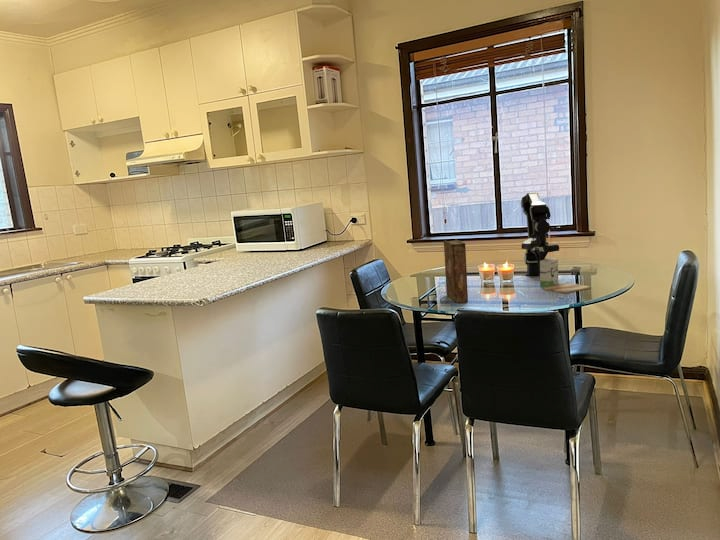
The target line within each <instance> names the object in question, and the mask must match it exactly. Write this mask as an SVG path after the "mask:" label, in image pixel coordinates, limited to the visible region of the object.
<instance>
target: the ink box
mask: <svg viewBox="0 0 720 540" xmlns="http://www.w3.org/2000/svg"><path fill="white" fill-rule="evenodd" d="M539 283H540V285H539V286H540V287H548V286H553V285H558V284H559V258H550V257H548V258H545V259H544V260H541V261H540V276H539Z"/></svg>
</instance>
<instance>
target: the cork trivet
mask: <svg viewBox="0 0 720 540" xmlns="http://www.w3.org/2000/svg"><path fill="white" fill-rule="evenodd" d="M591 288H592V286H590V285H583V284H578V283H573V282H564V283H558V284H556V285H553V286H548V287H544V286H542V290H546V291H549V292H555V293H560V294H563V295H565V294H571V293H575V292H579V291H585V290H588V289H591Z"/></svg>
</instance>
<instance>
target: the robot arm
mask: <svg viewBox="0 0 720 540" xmlns="http://www.w3.org/2000/svg"><path fill="white" fill-rule="evenodd" d="M520 207H521V208H522V212H523V214H524V215H525V216H526V227H527V239H526V240H524V241H523V242H522V244H521V250H525V253H524V257H523V258H524V259H523V261H524V262H523V263H524V264H525V265H526V269H527V270H526V271H527V273H525V274H524V276H526V277H532V278H536V277H540V261H541V260H544V259H546V257H547V255H548V253H552V252H553V253H555V252H559V251H560V245H559V244H558V243H557V244H556V243H550V244H549V242H547V237H549V232H550V231H551V225H550V223H549V222H548V221H547V220H550V218H551V215H552V214H551V211H550V207H549V206H548V205H547V204H546V203H545V202H543V201H541V199H540V195H539V192H536V191H531V192H526V195H524V196H523V197H522V198H521V200H520Z"/></svg>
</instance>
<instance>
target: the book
mask: <svg viewBox="0 0 720 540" xmlns="http://www.w3.org/2000/svg"><path fill="white" fill-rule="evenodd" d="M443 248H444V249H443V250H444V253H443V255H444V268H445V290H446V291H445V292H446V296H447V297H448V298H449V299H451V301H453V302H454V303H455V304H464V303H466V304H467V303H468V302H469V299H468V298H469V297H468V290H469V289H468V274H467V273H468V271H467V251H466V250H467V249H466V243H465V242H463V241H461V240H458V239H454V240H453V239H452V240H443Z"/></svg>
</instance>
